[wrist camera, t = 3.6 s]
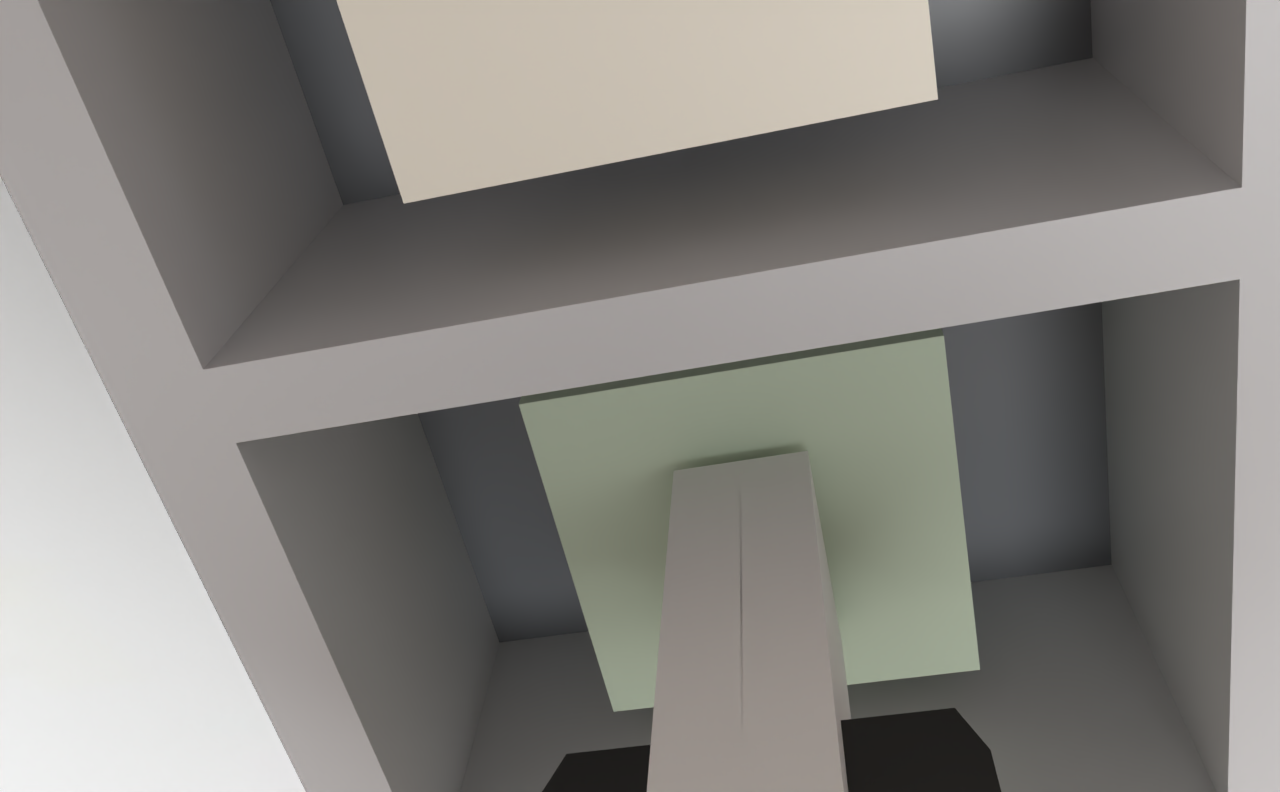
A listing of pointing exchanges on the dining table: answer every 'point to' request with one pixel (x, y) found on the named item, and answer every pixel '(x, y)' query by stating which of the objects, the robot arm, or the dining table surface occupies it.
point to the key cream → (618, 78)
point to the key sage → (761, 427)
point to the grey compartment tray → (686, 367)
